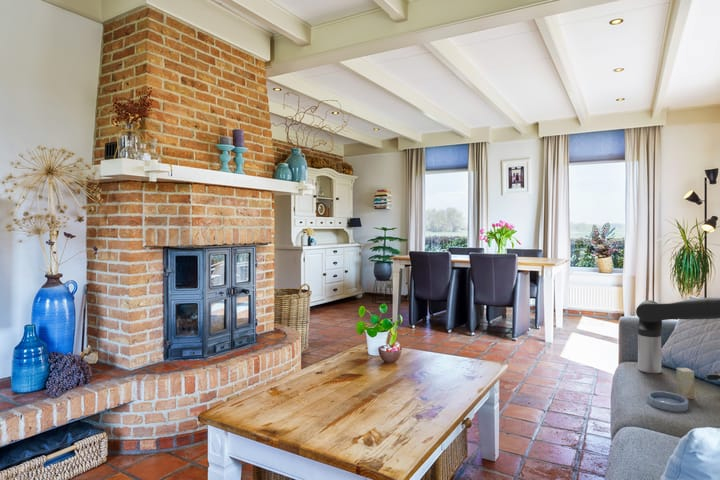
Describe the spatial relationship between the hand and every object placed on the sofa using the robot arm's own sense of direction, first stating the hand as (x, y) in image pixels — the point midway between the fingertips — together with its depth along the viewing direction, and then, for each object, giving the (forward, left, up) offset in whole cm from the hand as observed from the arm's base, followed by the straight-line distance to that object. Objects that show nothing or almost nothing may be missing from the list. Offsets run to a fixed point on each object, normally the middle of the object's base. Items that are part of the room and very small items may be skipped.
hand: (714, 380), depth 175 cm
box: (0, -11, -7) cm, 13 cm away
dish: (+8, -22, -7) cm, 24 cm away
